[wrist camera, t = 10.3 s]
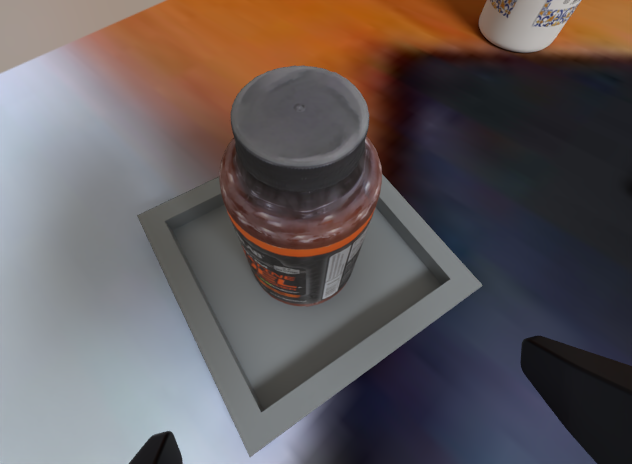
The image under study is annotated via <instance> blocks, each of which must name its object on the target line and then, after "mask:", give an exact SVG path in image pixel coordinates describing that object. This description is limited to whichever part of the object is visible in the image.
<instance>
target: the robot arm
mask: <svg viewBox="0 0 632 464" xmlns="http://www.w3.org/2000/svg"><path fill="white" fill-rule="evenodd" d="M521 368H522V370H523V372H524V374H525V375H526V377H527V378H528V379H529V381H530V382H531V383H532V385H533V386H534V387H535V388H536V390H537V391H538V392H539V394H540V395H541V396H542V398H543V399H544V400H545V402H546V403H547V404H548V406H549V407H550V408H551V410H552V411H553V412H554V413H555V415H556V416H557V417H558V419H559V420H560V421H561V423H562V424H563V425H564V426H565V428H566V429H567V430H568V431H569V432H570V433H571V435H572V436H573V437H574V438H575V439H576V440H577V442H578V443H579V444H580V445H581V446H582V447H583V448H584V449H585V450H586V452H587V453H588V454H589V455H590V456H591V457H592V458H593V459H594V461H595V462H596V463H597V464H632V366H629V365H626V364H623V363H620V362H617V361H614V360H611V359H608V358H605V357H602V356H599V355H596V354H593V353H590V352H587V351H584V350H581V349H578V348H575V347H572V346H569V345H566V344H563V343H560V342H557V341H554V340H551V339H548V338H545V337H542V336H534V337H530V338H526V339H524V340H523V342H522V349H521ZM129 464H183V462H182V456H181V453H180V450H179V448H178V445H177V442H176V440H175V437H174V435H173V433H172V432H171V431H166V432H162V433H158V434H155V435H153V436H151V437H150V438H149V439H148V441H147V442H146V443H145V444H144V446H143V447H142V448H141V449H140V450H139V452H138V453H137V454H136V455H135V457H134V458H133V459H132V460H131V462H130V463H129Z"/></svg>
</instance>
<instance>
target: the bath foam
mask: <svg viewBox="0 0 632 464" xmlns="http://www.w3.org/2000/svg"><path fill="white" fill-rule="evenodd" d="M580 2H581V0H487V1H486V4H485V6H484V8H483V10H482V13H481V15H480V18H479V28H480V31H481V33H482V34H483V35H484V37H485V38H486V39H487V40H489V41H490V42H491V43H493V44H494V45H496V46H498V47H500V48H503V49H506V50H509V51H513V52H521V53H528V52H535V51H539V50H542V49H544V48H546V47H547V46H549V45H550V44H551V43H552V42H553V41H554V39H555V38H556V36H557V35H558V33H559V32H560V31H561V29H562V28H563V26H564V25H565V23H566V22H567V20H568V19H569V18H570V16H571V15H572V13H573V12H574V10H575V9H576V7H577V6H578V5H579V3H580Z"/></svg>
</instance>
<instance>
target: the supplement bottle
mask: <svg viewBox="0 0 632 464" xmlns="http://www.w3.org/2000/svg"><path fill="white" fill-rule="evenodd" d="M231 125H232V130H233V134H234V138H233V139H232V140H231V142H230V143H229V145H228V147H227V149H226V150H225V153H224V156H223V158H222V161H221V167H220V172H219V182H220V189H221V194H222V198H223V202H224V204H225V207H226V209H227V212H228V214H229V217H230V220H231V222H232V224H233V227H234V229H235V231H236V234H237V236H238V239H239V241H240V243H241V246H242V248H243V250H244V253H245V255H246V257H247V260H248V263H249V265H250V267H251V270H252V272H253V274H254V276H255V278H256V280H257V281H258V283H259V284H260V286H261V287H262V288H263V289H264V291H265V292H267V293H268V294H269V295H270V296H271V297H273V298H274V299H276V300H278V301H280V302H283V303H285V304H288V305H293V306H306V307H308V306H313V305H318V304H320V303H323V302H325V301H327V300H329V299H331V298H332V297H333V296H335V295H336V294H338V293H339V292H340V291H341V290H342V289H343V287H344V286H345V285H346V283H347V281H348V279H349V278H350V276H351V273H352V271H353V268H354V266H355V263H356V260H357V257H358V255H359V252H360V249H361V246H362V244H363V241H364V238H365V235H366V232H367V230H368V227H369V224H370V222H371V219H372V216H373V213H374V210H375V207H376V204H377V202H378V198H379V195H380V190H381V184H382V168H381V164H380V160H379V157H378V154H377V152H376V149H375V148H374V146H373V144H372V143H371V141H370V140H369V139H368V137H367V136H366V135H367V131H368V125H369V113H368V108H367V104H366V101H365V100H364V98H363V96H362V94H361V93H360V92H359V90H358V89H357V88H356V87H355V86H354V85H353V84H352V83H351V82H350V81H349V80H347V79H345V78H344V77H342V76H340V75H339V74H337V73H335V72H330V71H328V70H326V69H323V68H317V67H308V66H290V67H283V68H278V69H274V70H272V71H268V72H266V73H264V74H262V75H259V76H257V77H256V78H254V79H253V80H252V81H250V82H249V83H248V84H247V85H246V86H245V87H244V88H243V89H241V91H240V92H239V93H238V95H237V96H236V99H235V100H234V103H233V105H232V110H231Z"/></svg>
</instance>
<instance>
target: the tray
mask: <svg viewBox="0 0 632 464" xmlns="http://www.w3.org/2000/svg"><path fill="white" fill-rule="evenodd" d="M137 216H138V218H139V221H140V223H141V225H142V227H143V229H144V231H145V233H146V236H147V238H148V240H149V242H150V244H151V246H152V248H153V251H154V253H155V255H156V257H157V259H158V261H159V263H160V266H161V268H162V270H163V272H164V274H165V276H166V278H167V281H168V283H169V285H170V287H171V289H172V291H173V293H174V296H175V298H176V300H177V302H178V304H179V306H180V308H181V311H182V313H183V315H184V317H185V319H186V321H187V323H188V326H189V328H190V330H191V332H192V334H193V336H194V338H195V341H196V343H197V345H198V347H199V349H200V351H201V353H202V356H203V358H204V360H205V362H206V364H207V366H208V368H209V371H210V373H211V375H212V377H213V379H214V381H215V383H216V386H217V388H218V390H219V392H220V394H221V396H222V398H223V401H224V403H225V405H226V407H227V409H228V411H229V413H230V416H231V418H232V420H233V422H234V424H235V426H236V428H237V431H238V433H239V435H240V437H241V439H242V441H243V443H244V446H245V448H246V450H247V452H248V454H249V456H250V457H251V456H252V455H254V454H255V453H256V452H258V451H259V450H261V449H262V448H263V447H265V446H266V445H267V444H269V443H270V442H271V441H273V440H274V439H275V438H277V437H278V436H279V435H281V434H282V433H284V432H285V431H286V430H288V429H289V428H290V427H292V426H293V425H294V424H296V423H297V422H298V421H300V420H301V419H302V418H304V417H305V416H307V415H308V414H309V413H311V412H312V411H313V410H315V409H316V408H317V407H319V406H320V405H321V404H323V403H324V402H325V401H327V400H328V399H330V398H331V397H332V396H334V395H335V394H336V393H338V392H339V391H340V390H342V389H343V388H344V387H346V386H347V385H348V384H350V383H351V382H353V381H354V380H355V379H357V378H358V377H359V376H361V375H362V374H363V373H365V372H366V371H367V370H369V369H370V368H372V367H373V366H374V365H376V364H377V363H378V362H380V361H381V360H382V359H384V358H385V357H386V356H388V355H389V354H390V353H392V352H393V351H395V350H396V349H397V348H399V347H400V346H401V345H403V344H404V343H405V342H407V341H408V340H409V339H411V338H412V337H413V336H415V335H416V334H418V333H419V332H420V331H422V330H423V329H424V328H426V327H427V326H428V325H430V324H431V323H432V322H434V321H435V320H436V319H438V318H439V317H441V316H442V315H443V314H445V313H446V312H447V311H449V310H450V309H451V308H453V307H454V306H455V305H457V304H458V303H459V302H461V301H462V300H464V299H465V298H466V297H468V296H469V295H470V294H472V293H473V292H474V291H476V290H477V289H478V288H480V287H481V286H482V284H481V283H480V282H479V281H478V280H477V279H476V278H475V276H474V275H473V274H472V273H471V272H470V271H469V270H468V269H467V268H466V266H465V265H464V264H463V263H462V262H461V261H460V260H459V259H458V258H457V257H456V255H455V254H454V253H453V252H452V251H451V250H450V249H449V248H448V247H447V245H446V244H445V243H444V242H443V241H442V240H441V239H440V238H439V237H438V236H437V234H436V233H435V232H434V231H433V230H432V229H431V228H430V227H429V226H428V224H427V223H426V222H425V221H424V220H423V219H422V218H421V217H420V216H419V215H418V213H417V212H416V211H415V210H414V209H413V208H412V207H411V206H410V205H409V203H408V202H407V201H406V200H405V199H404V198H403V197H402V196H401V195H400V193H399V192H398V191H397V190H396V189H395V188H394V187H393V186H392V185H391V184H390V182H389V181H388V180H387V179H386V178H385V177H384V176H383V175H382V184H381V190H380V195H379V198H378V202H377V204H376V207H375V210H374V213H373V216H372V219H371V222H370V224H369V227H368V230H367V232H366V235H365V238H364V241H363V244H362V246H361V249H360V252H359V255H358V257H357V260H356V263H355V266H354V268H353V271H352V273H351V276H350V278H349V279H348V281H347V283H346V285H345V286H344V287H343V289H342V290H341V291H340V292H339V293H338V294H336V295H335V296H333V297H332V298H331V299H329V300H327V301H325V302H323V303H320V304H318V305H313V306H308V307H306V306H293V305H288V304H285V303H283V302H280V301H278V300H276V299H274V298H273V297H271V296H270V295H269V294H268V293H267V292H265V291H264V289H263V288H262V287H261V286H260V284H259V283H258V281H257V280H256V278H255V276H254V274H253V272H252V270H251V267H250V265H249V263H248V260H247V257H246V255H245V253H244V250H243V248H242V246H241V243H240V241H239V239H238V236H237V234H236V231H235V229H234V227H233V224H232V222H231V220H230V217H229V214H228V212H227V209H226V207H225V204H224V202H223V198H222V194H221V189H220V182H219V177H217V178H215V179H213V180H211V181H209V182H207V183H205V184H203V185H201V186H198V187H196V188H194V189H192V190H190V191H188V192H186V193H184V194H182V195H179V196H177V197H175V198H173V199H171V200H169V201H167V202H165V203H163V204H160V205H158V206H156V207H154V208H152V209H150V210H148V211H146V212H144V213H141V214H139V215H137Z"/></svg>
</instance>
